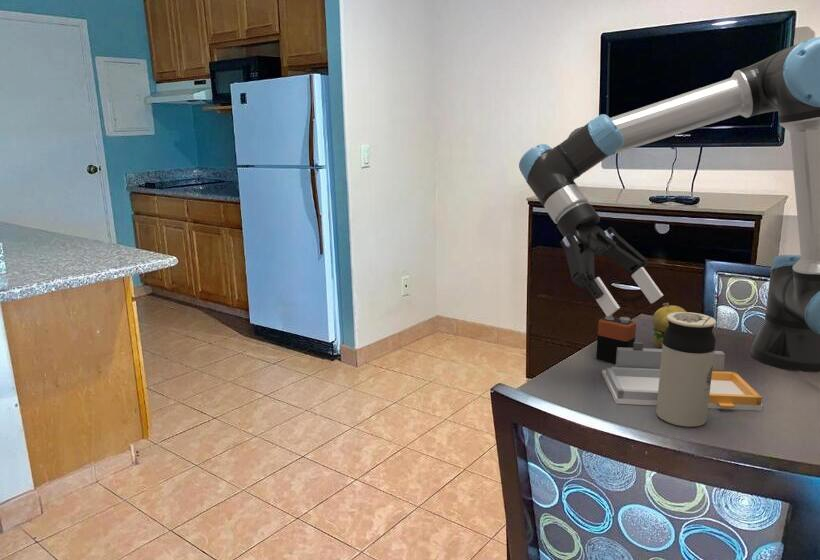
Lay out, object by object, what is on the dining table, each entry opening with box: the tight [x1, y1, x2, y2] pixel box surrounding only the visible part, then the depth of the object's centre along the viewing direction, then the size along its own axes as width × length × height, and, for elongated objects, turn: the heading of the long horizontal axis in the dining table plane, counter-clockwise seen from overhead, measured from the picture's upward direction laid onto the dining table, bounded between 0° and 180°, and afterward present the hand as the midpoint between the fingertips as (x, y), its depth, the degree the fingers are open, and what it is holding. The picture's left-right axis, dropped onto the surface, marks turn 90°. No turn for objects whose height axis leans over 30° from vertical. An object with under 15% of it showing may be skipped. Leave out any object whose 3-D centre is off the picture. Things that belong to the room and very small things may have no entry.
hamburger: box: [652, 302, 687, 349], centre depth 134 cm, size 8×7×12 cm
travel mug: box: [655, 311, 717, 428], centre depth 102 cm, size 8×8×18 cm
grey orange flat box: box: [601, 341, 764, 412], centre depth 113 cm, size 25×15×7 cm, turn 82°
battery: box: [595, 314, 637, 365], centre depth 130 cm, size 4×7×10 cm, turn 46°
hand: (636, 305), depth 107 cm, fingers open, 13 cm apart
